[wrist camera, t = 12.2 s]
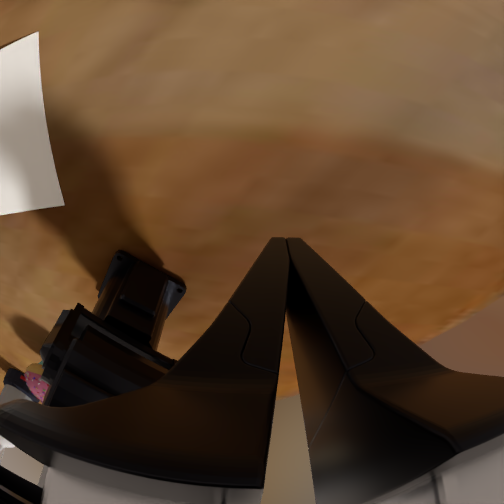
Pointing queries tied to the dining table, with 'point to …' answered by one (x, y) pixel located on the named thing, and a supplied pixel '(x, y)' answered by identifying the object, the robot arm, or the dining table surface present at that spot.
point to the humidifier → (14, 394)
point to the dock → (24, 133)
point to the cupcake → (36, 380)
